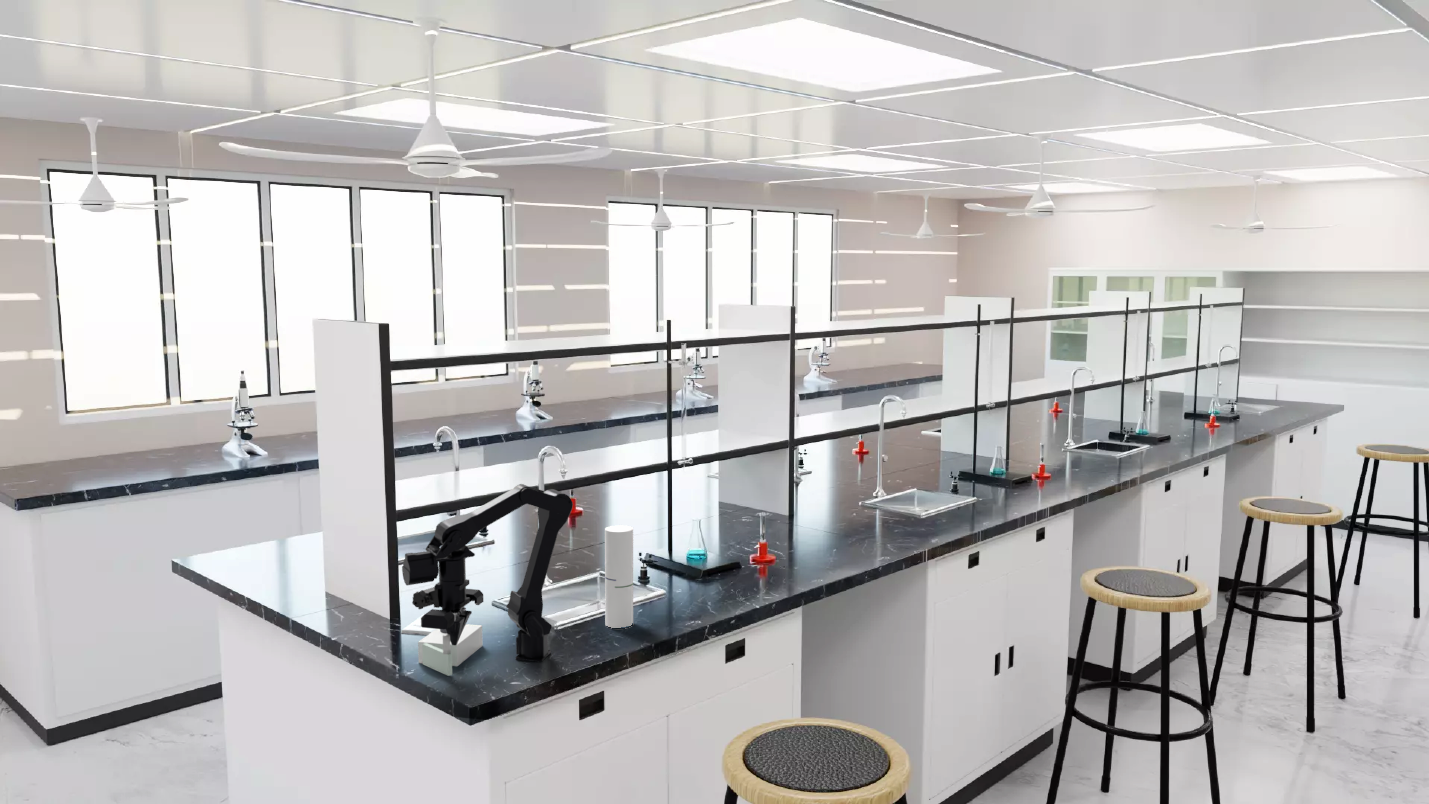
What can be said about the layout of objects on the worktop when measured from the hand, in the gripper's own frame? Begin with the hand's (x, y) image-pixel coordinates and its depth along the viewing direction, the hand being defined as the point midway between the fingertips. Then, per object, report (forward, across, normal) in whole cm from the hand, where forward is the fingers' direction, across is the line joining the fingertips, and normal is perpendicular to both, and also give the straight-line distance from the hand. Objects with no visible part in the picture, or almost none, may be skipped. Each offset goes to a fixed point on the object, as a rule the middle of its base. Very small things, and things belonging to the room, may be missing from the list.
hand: (454, 645), depth 224 cm
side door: (+6, +1, -4) cm, 7 cm away
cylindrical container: (+7, -39, +26) cm, 47 cm away
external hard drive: (+8, -26, -20) cm, 34 cm away
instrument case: (+6, -9, -6) cm, 13 cm away
